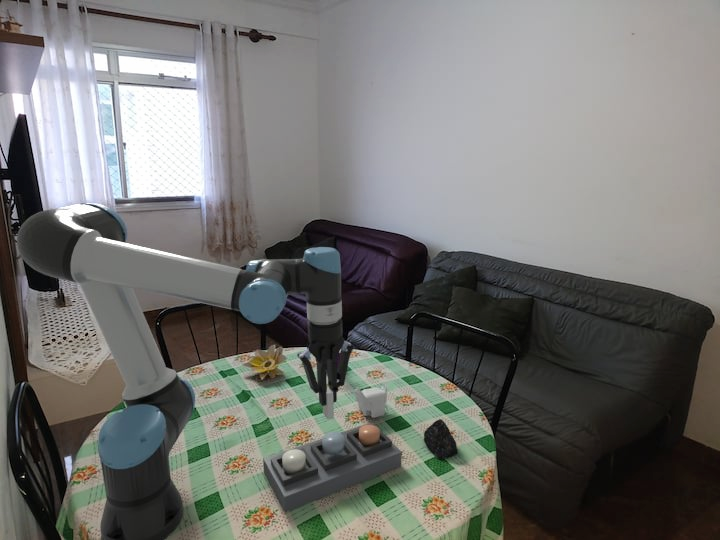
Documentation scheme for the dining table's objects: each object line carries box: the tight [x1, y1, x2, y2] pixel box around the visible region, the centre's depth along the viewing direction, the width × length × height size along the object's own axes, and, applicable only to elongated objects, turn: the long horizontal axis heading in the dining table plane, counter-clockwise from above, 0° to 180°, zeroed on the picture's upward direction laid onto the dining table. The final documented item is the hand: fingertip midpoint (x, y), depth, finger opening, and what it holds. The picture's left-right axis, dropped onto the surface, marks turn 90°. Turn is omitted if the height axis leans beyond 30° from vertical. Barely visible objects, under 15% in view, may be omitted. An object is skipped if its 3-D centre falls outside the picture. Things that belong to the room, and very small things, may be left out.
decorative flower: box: [241, 344, 288, 380], centre depth 152 cm, size 15×11×10 cm
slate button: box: [321, 431, 344, 455], centre depth 105 cm, size 5×5×2 cm
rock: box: [423, 418, 459, 461], centre depth 115 cm, size 7×10×6 cm
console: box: [262, 422, 403, 514], centre depth 106 cm, size 30×14×6 cm, turn 120°
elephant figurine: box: [353, 381, 390, 419], centre depth 129 cm, size 10×12×9 cm
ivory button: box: [282, 448, 306, 474], centre depth 100 cm, size 5×5×2 cm
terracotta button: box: [359, 424, 381, 446], centre depth 110 cm, size 5×5×2 cm
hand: (328, 415), depth 102 cm, fingers closed
